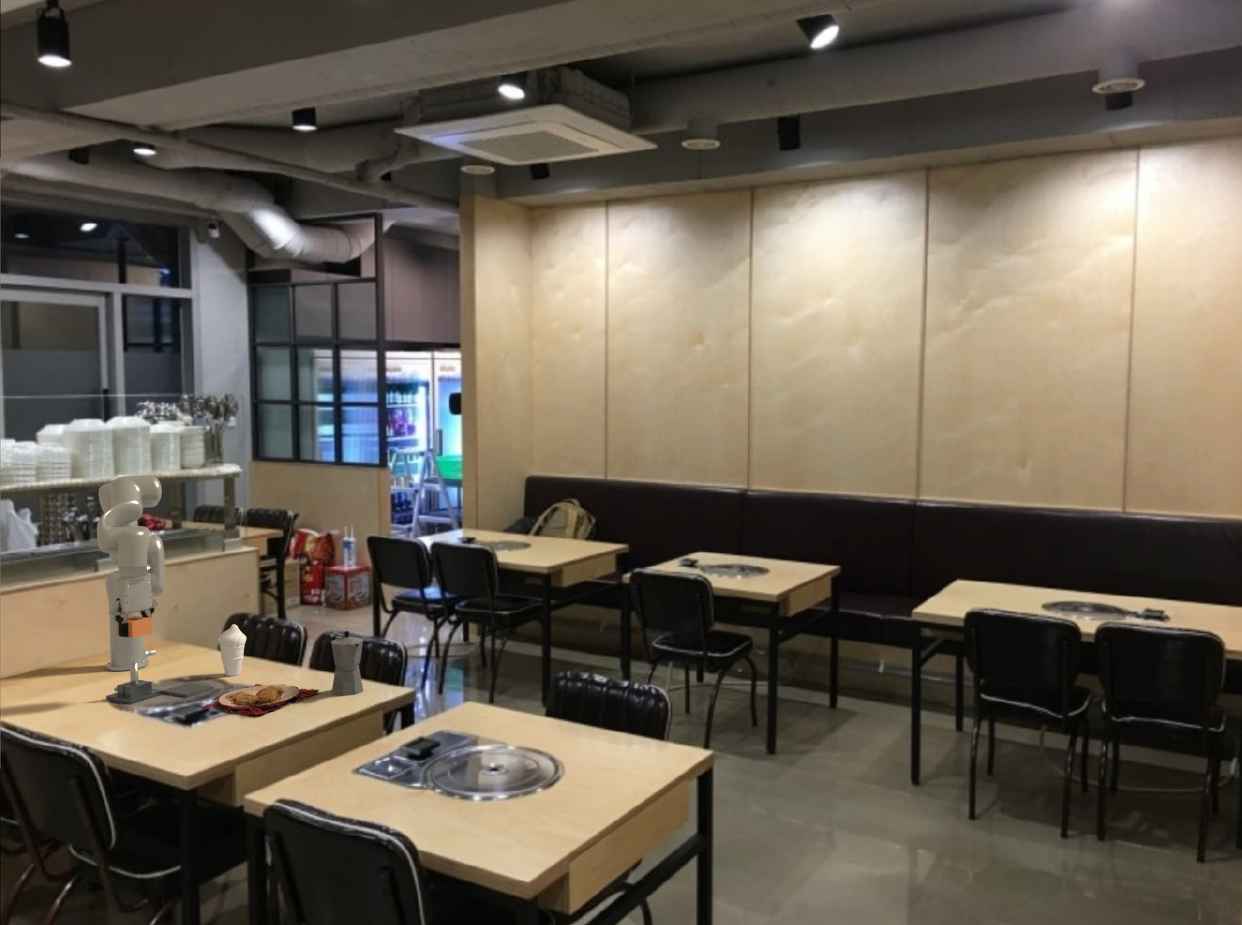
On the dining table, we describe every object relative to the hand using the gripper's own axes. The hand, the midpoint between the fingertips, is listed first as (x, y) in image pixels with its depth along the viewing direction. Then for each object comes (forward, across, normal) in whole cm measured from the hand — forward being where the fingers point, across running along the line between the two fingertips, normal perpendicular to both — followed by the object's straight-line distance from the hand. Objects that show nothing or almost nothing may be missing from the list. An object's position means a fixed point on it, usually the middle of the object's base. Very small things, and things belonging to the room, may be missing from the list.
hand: (134, 633), depth 289 cm
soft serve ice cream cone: (+19, -31, +6) cm, 36 cm away
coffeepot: (+19, -31, +51) cm, 62 cm away
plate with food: (+19, -12, +35) cm, 42 cm away
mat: (+19, -11, +9) cm, 23 cm away
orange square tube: (0, 0, 0) cm, 0 cm away
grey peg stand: (+19, 0, 0) cm, 19 cm away
